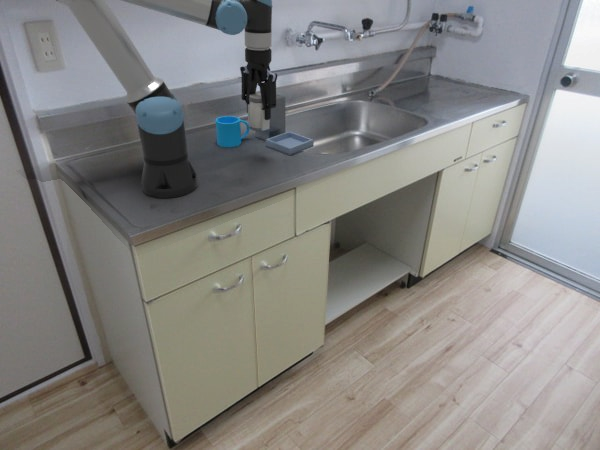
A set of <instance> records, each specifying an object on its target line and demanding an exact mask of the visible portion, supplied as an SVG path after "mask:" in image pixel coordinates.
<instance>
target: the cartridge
mask: <svg viewBox="0 0 600 450" xmlns="http://www.w3.org/2000/svg"><path fill="white" fill-rule="evenodd" d="M249 101H250V126H249V127H250V129H249V130H251V131H262V130H261V108H263V103H262V98H261V92H259V93H257V92H256V93H255V94H250V96H249Z"/></svg>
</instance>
